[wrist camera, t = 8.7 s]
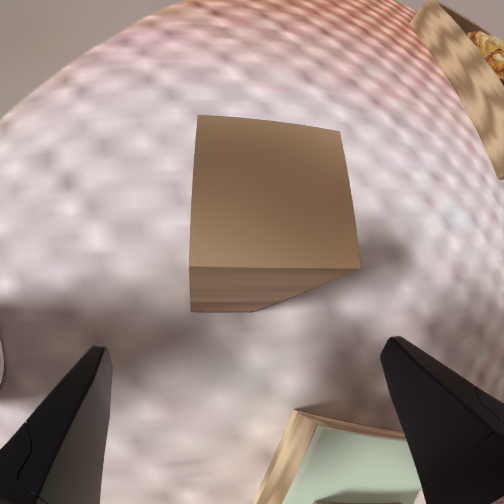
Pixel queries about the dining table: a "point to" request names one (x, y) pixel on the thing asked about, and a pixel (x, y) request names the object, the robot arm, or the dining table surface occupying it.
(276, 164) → the tan rectangular bar
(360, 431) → the open wooden box
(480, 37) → the bread
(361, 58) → the dining table surface
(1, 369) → the milk bottle
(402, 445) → the lid
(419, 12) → the bread crate
